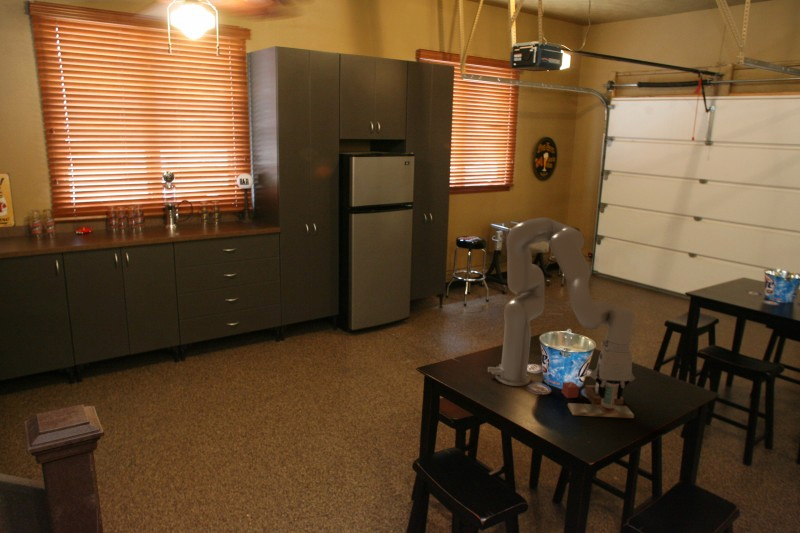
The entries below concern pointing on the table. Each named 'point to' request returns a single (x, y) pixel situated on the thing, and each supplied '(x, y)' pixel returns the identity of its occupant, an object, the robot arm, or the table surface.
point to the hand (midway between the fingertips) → (609, 396)
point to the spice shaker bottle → (610, 394)
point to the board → (600, 410)
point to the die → (570, 389)
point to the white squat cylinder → (596, 389)
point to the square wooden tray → (597, 399)
